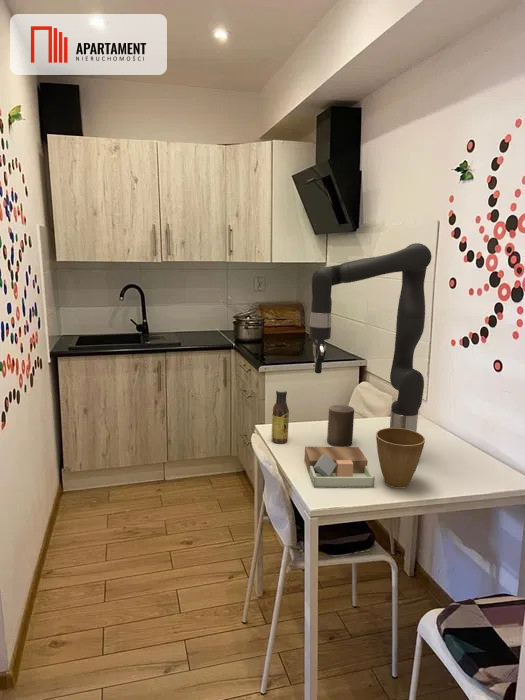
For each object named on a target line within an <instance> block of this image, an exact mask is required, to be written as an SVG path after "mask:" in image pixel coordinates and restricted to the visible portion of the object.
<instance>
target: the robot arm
mask: <svg viewBox="0 0 525 700" xmlns="http://www.w3.org/2000/svg"><path fill="white" fill-rule="evenodd" d="M431 261H432V252H431V250H430V249H429V248H428V246H426V245H424V244H423V243H419V242H418V243H417V242H416V243H411V244H409V245H407V246H406V247H405V248H403V249H400V250H397V251H394V252H392V253H388V254H383V255H378V256H371V257H366V258H359V259H354V260H350V261H347V262H344V263H340V264H336V265H335V264H334V265H329V266H325V267H320V268H317V269H316V270H314V272H313V274H312V277H311V295H312V296H311V297H312V298H311V308H310V317H309V338H310V339H313V340H314V342H313V343H312V352H313V359H314V360H313V361H314V373H315V374H322V367H323V364H324V362H325V357H326V354H327V351H326V349H327V348H326V347H327V345H326V344H325V340H328V341H329V340H330V339H331V335H332V333H331V332H332V303H333V301H332V288H333V286H337V285H340V284H349V283H355V282H360V281H363V280H368V279H371V278H375V277H379V276H382V275H383V276H384V275H387V274H392V273H393V274H394V273H400V272H401V278H402V279H401V289H400V294H399V299H398V306H397V313H396V323H395V325H396V326H395V337H394V338H395V339H394V352H393V358H392V364H391V369H390V374H389V381H390V385H391V386H392V388H393V389H395V390H396V391H398V393H397V394H398V395H397V400H395V401H394V402H392V403H391V408H390V419H389V421H390V422H389V428H403V429H409V430H412V431H415V432H418V421H419V419H418V418H419V412H420V411H419V410H420V408H421V406H422V402H423V397H424V396H423V395H424V388H425V377H424V376H423V374H422V372H420V371H419V370H417V369H415V368H414V366H413V365H414V363H413V362H414V353H415V350H416V348H417V346H418V344H419V342H420V340H421V339H422V335H423V333H424V329H425V321H426V320H425V319H426V300H425V299H426V298H425V281H426V280H425V279H426V273H427V269H428V266H429V265H430V263H431Z"/></svg>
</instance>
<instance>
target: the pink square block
mask: <svg viewBox="0 0 525 700" xmlns="http://www.w3.org/2000/svg"><path fill="white" fill-rule="evenodd" d="M336 464H337V465H336V469H335V475H336V477H353V462H352V461H351V460H336Z"/></svg>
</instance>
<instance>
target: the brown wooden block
mask: <svg viewBox="0 0 525 700" xmlns="http://www.w3.org/2000/svg"><path fill="white" fill-rule="evenodd" d="M324 454H326V455H327V456H328V457H329V458H330V459H331V460H333V461H334V462H335V463H336V460H351V461H352V462H353V473H364V472H365V466H368V458H366V456H365V454H364V453H363V451H362V450H361V448H360V447H359V446H347V447H338V446H304V459H303V461H304V463H305V466H306V469H307V472H308V474H310V466H313V467H314V466H315V464H316V463H317V461H318V459H319V458H320V456H322V455H324ZM313 469H314V468H313ZM335 469H336V466H335V468H334V470H333V471H332V473H335ZM314 471H315V473H319V472H318V471H316V470H315V469H314Z"/></svg>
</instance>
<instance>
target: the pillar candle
mask: <svg viewBox="0 0 525 700" xmlns="http://www.w3.org/2000/svg"><path fill="white" fill-rule="evenodd" d="M354 418H355V408H354V407H352V406H350V405H345V404H333V405H331V406H329V407H328V420H327V438H326V441H327V444H328V445H330V446H333V447H352V445H353V440H354V439H353V437H354V421H355V419H354Z"/></svg>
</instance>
